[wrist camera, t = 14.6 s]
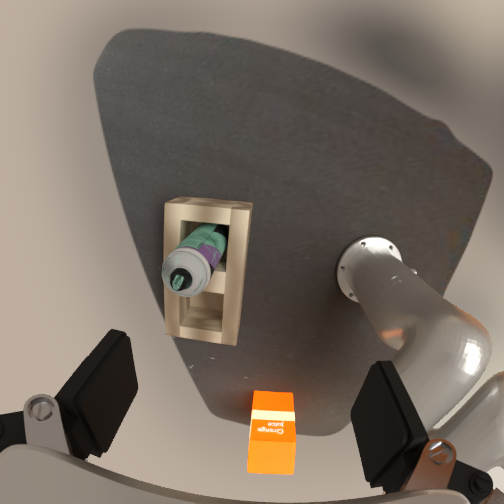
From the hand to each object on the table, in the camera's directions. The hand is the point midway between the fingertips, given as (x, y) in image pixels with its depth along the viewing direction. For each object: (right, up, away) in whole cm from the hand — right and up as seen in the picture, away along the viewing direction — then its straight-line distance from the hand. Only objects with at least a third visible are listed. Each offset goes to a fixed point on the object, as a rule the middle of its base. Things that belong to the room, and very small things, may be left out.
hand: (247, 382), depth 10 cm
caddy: (-7, +3, +40) cm, 40 cm away
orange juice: (+5, -30, +50) cm, 58 cm away
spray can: (-6, +8, +37) cm, 39 cm away
